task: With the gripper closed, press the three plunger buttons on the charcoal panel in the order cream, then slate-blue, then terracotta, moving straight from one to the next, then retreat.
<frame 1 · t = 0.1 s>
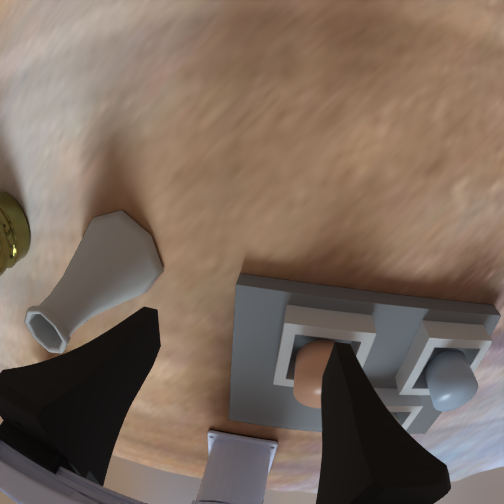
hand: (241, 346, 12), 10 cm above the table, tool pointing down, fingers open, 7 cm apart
button panel: (356, 370, 25), on the table
terracotta button: (322, 374, 20), point 5 cm above the table, slide at 0.0 cm
slate-blue button: (450, 380, 19), point 5 cm above the table, slide at 0.0 cm
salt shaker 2: (9, 224, 25), on the table
cream button: (380, 436, 22), point 5 cm above the table, slide at 0.0 cm
flask: (122, 253, 24), on the table
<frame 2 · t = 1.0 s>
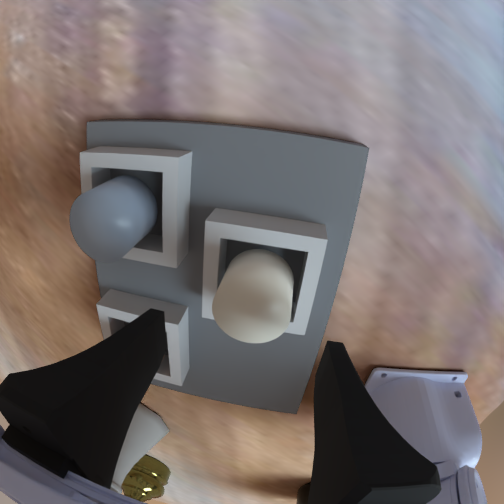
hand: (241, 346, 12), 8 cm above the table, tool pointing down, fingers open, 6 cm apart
button panel: (209, 284, 22), on the table
slate-blue button: (114, 217, 15), point 5 cm above the table, slide at 0.0 cm
ink bottle: (329, 488, 34), on the table
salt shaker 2: (148, 462, 38), on the table
cream button: (255, 295, 16), point 5 cm above the table, slide at 0.0 cm
flask: (139, 415, 32), on the table
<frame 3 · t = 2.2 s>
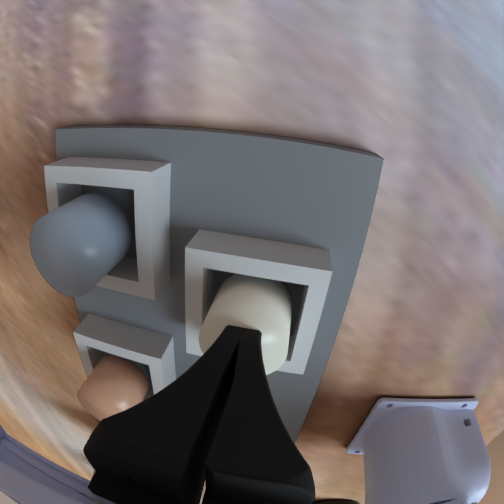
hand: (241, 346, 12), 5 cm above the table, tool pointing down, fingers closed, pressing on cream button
button panel: (196, 311, 19), on the table
terracotta button: (113, 392, 17), point 5 cm above the table, slide at 0.0 cm
slate-blue button: (80, 242, 12), point 5 cm above the table, slide at 0.0 cm
cream button: (248, 324, 14), point 4 cm above the table, slide at 0.8 cm, touching gripper
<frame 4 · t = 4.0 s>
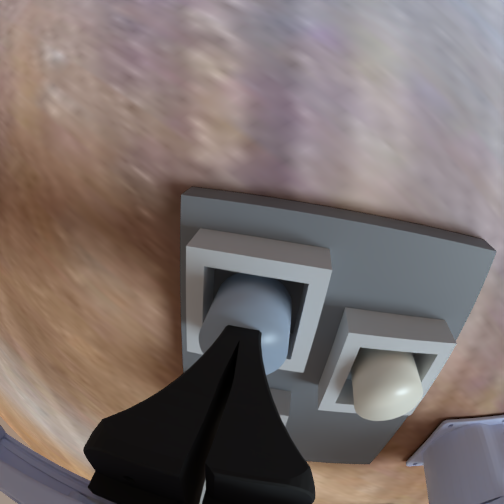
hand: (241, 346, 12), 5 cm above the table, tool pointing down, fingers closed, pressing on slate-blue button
button panel: (310, 366, 20), on the table
slate-blue button: (248, 324, 14), point 4 cm above the table, slide at 0.7 cm, touching gripper
cream button: (385, 379, 15), point 3 cm above the table, slide at 1.3 cm
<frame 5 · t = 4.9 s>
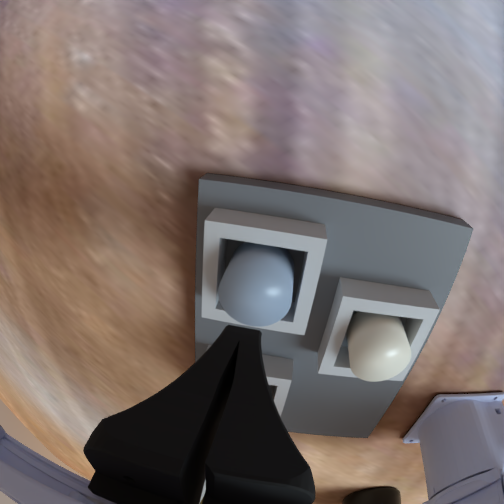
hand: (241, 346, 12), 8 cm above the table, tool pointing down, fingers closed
button panel: (310, 337, 22), on the table
slate-blue button: (258, 281, 17), point 3 cm above the table, slide at 1.3 cm
ink bottle: (371, 495, 35), on the table
cream button: (377, 343, 18), point 3 cm above the table, slide at 1.3 cm
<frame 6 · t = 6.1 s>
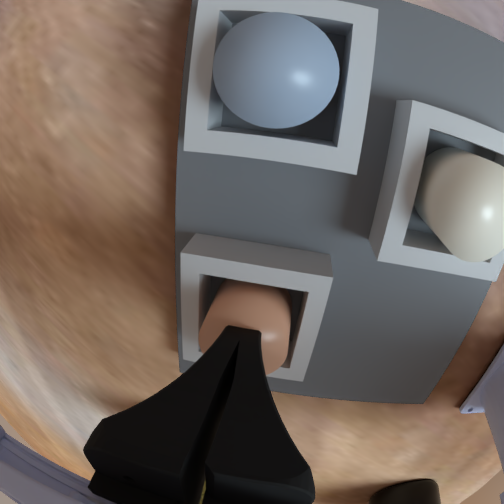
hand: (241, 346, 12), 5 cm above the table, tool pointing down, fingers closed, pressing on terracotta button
button panel: (352, 225, 15), on the table
terracotta button: (248, 324, 14), point 3 cm above the table, slide at 1.3 cm, touching gripper
slate-blue button: (279, 73, 9), point 3 cm above the table, slide at 1.3 cm
ink bottle: (403, 491, 27), on the table
cream button: (465, 200, 10), point 3 cm above the table, slide at 1.3 cm
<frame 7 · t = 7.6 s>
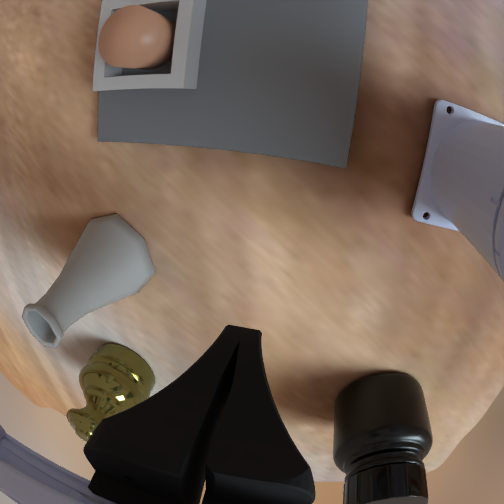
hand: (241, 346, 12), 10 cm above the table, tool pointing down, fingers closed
terracotta button: (139, 38, 14), point 3 cm above the table, slide at 1.3 cm
ink bottle: (378, 398, 27), on the table
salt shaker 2: (126, 366, 32), on the table
flask: (117, 253, 25), on the table
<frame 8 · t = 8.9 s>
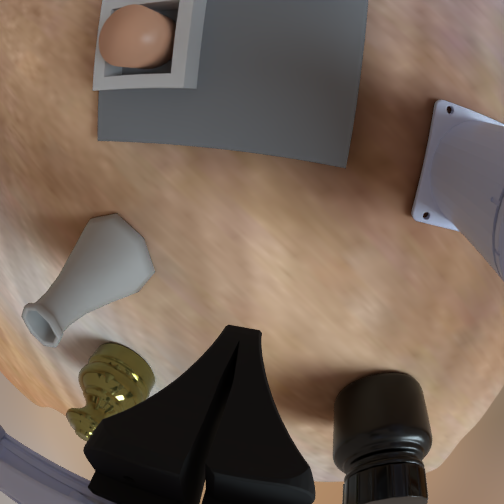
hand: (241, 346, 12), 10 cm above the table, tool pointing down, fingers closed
terracotta button: (139, 38, 14), point 3 cm above the table, slide at 1.3 cm
ink bottle: (378, 398, 27), on the table
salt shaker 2: (126, 365, 32), on the table
flask: (117, 253, 25), on the table
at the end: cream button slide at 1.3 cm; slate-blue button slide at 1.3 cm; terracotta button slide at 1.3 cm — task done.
